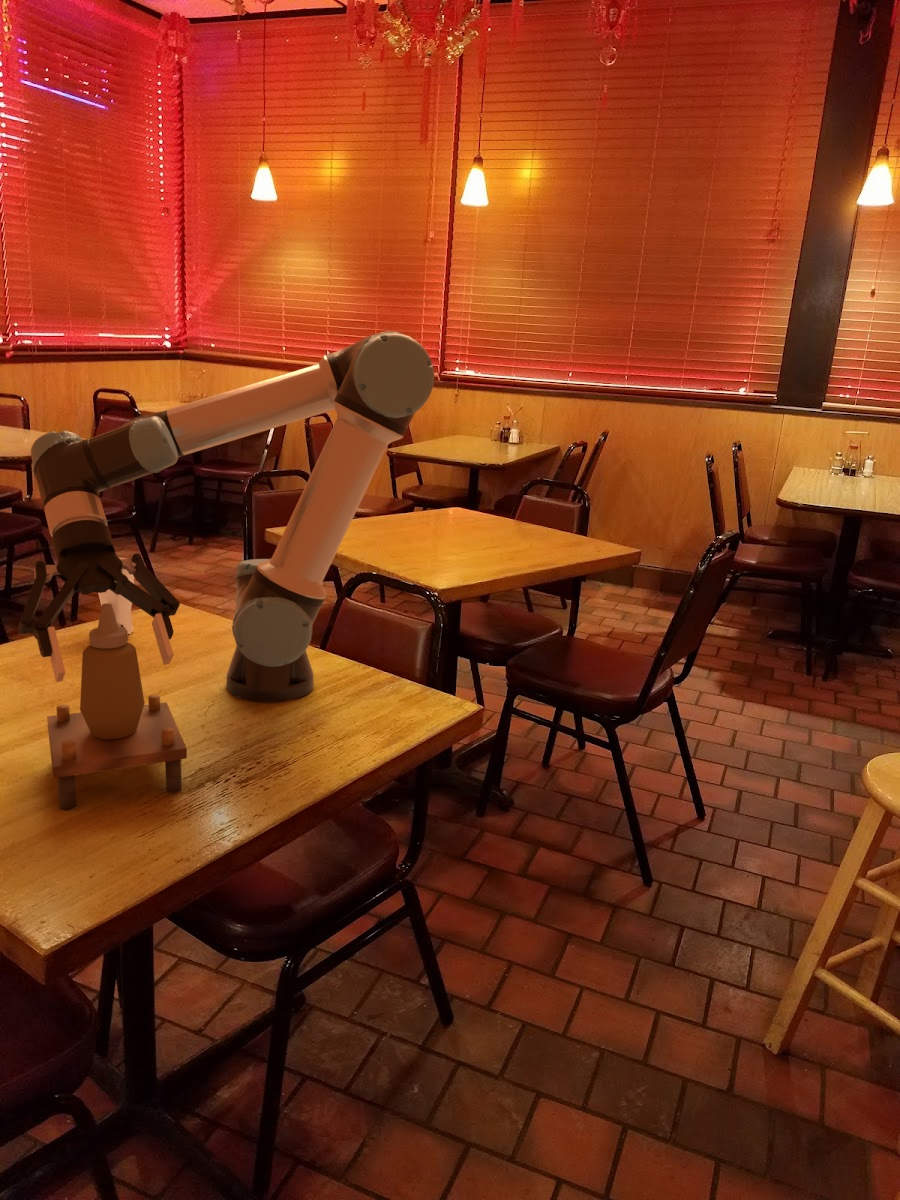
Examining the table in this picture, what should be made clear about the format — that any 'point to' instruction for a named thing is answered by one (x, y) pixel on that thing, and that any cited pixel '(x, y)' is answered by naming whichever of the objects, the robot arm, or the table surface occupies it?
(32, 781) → the table surface
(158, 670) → the table surface
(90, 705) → the squeeze bottle
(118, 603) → the beer glass
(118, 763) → the walnut stand
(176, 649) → the table surface
